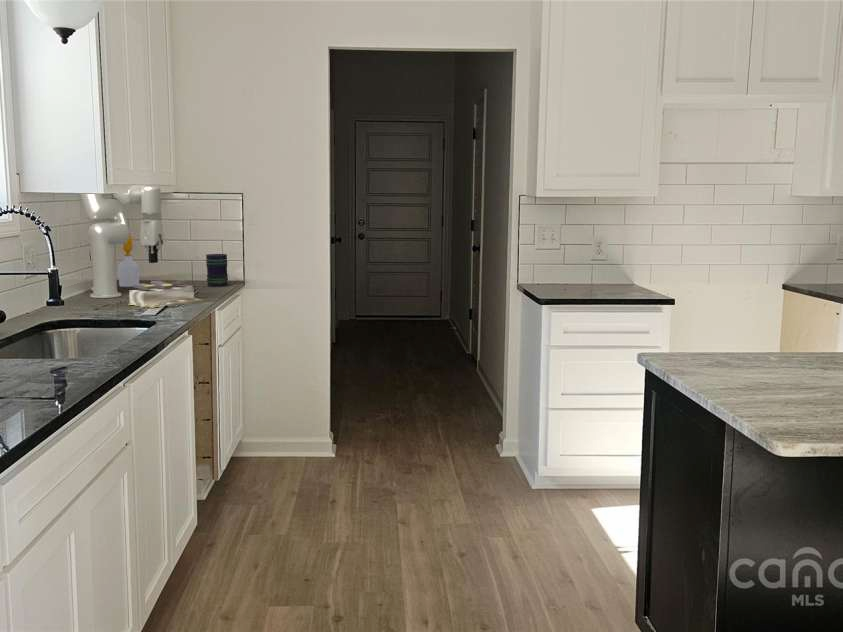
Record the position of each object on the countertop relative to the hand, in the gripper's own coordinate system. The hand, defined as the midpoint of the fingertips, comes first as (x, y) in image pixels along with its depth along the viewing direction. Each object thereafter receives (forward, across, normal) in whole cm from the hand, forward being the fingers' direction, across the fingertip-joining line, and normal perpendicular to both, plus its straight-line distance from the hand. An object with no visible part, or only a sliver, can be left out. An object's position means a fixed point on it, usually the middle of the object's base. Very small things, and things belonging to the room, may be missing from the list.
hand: (153, 262), depth 348 cm
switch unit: (+16, +6, +1) cm, 18 cm away
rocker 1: (+9, +4, -7) cm, 12 cm away
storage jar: (+17, -28, +54) cm, 63 cm away
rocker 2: (+9, +3, +9) cm, 13 cm away
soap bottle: (+18, -61, +27) cm, 69 cm away
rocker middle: (+9, +3, +1) cm, 10 cm away
